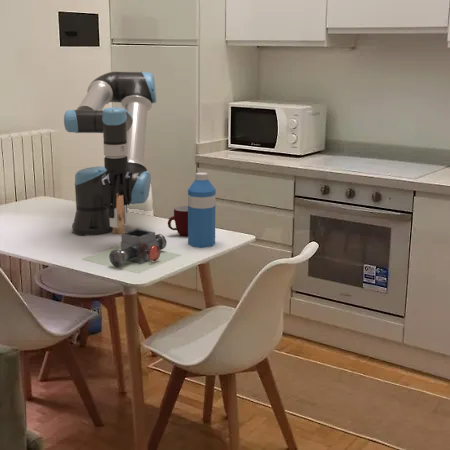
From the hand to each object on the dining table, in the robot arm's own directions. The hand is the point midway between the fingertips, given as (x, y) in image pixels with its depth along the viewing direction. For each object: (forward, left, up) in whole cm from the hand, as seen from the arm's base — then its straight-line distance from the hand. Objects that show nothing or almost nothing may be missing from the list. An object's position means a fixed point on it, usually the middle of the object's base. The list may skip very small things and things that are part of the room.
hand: (118, 225), depth 230 cm
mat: (+10, -6, -8) cm, 14 cm away
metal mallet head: (+15, -6, -8) cm, 18 cm away
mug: (+8, +24, -8) cm, 27 cm away
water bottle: (+20, +19, -8) cm, 29 cm away
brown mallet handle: (0, 0, -3) cm, 3 cm away
